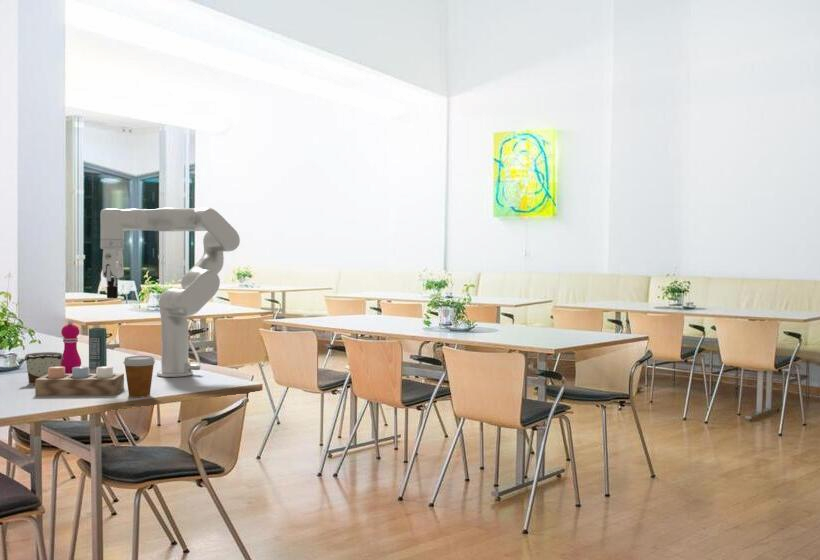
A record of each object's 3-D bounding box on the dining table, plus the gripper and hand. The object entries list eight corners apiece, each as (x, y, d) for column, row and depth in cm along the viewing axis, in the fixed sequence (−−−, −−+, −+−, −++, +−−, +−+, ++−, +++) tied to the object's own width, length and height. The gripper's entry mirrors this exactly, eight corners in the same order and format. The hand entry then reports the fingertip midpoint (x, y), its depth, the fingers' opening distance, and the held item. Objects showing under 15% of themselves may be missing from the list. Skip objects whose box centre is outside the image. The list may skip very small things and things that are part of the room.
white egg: (114, 385, 269) (114, 366, 268) (110, 388, 264) (110, 368, 263) (99, 386, 268) (98, 366, 268) (94, 388, 263) (94, 368, 263)
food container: (64, 379, 289) (64, 351, 288) (63, 382, 283) (63, 353, 282) (25, 381, 284) (25, 352, 284) (24, 384, 278) (24, 354, 278)
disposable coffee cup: (118, 395, 260) (118, 357, 260) (146, 391, 267) (146, 354, 266) (132, 399, 253) (132, 360, 253) (160, 395, 260) (160, 357, 260)
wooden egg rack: (123, 388, 272) (123, 373, 272) (114, 395, 260) (114, 379, 260) (48, 388, 270) (48, 373, 270) (35, 395, 258) (35, 379, 258)
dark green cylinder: (108, 366, 322) (108, 328, 321) (101, 368, 316) (101, 329, 315) (94, 366, 322) (93, 327, 322) (86, 368, 316) (86, 329, 316)
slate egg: (91, 386, 268) (91, 366, 268) (86, 388, 263) (86, 368, 263) (75, 386, 267) (75, 366, 267) (70, 388, 262) (70, 368, 262)
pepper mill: (73, 377, 295) (73, 321, 294) (55, 376, 296) (55, 320, 295) (85, 374, 302) (85, 319, 301) (67, 373, 303) (67, 319, 302)
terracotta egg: (67, 386, 267) (67, 366, 267) (62, 388, 262) (62, 368, 262) (51, 386, 267) (51, 366, 267) (45, 388, 262) (45, 368, 262)
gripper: (117, 244, 276) (117, 299, 276) (128, 244, 291) (129, 296, 291) (94, 244, 275) (94, 299, 276) (106, 244, 290) (107, 296, 291)
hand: (112, 298), depth 283 cm, fingers closed
